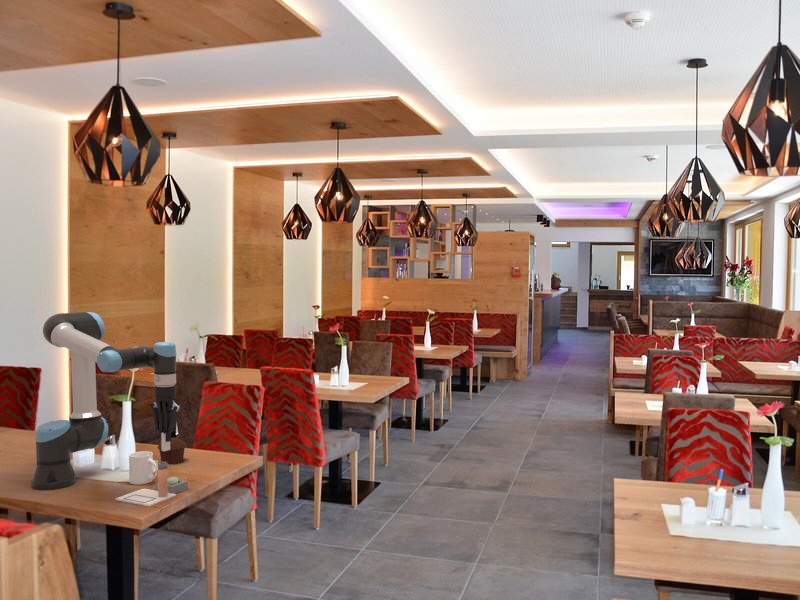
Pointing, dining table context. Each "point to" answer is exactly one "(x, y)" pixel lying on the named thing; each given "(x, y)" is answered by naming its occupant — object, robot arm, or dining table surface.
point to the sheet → (144, 497)
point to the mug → (141, 468)
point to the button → (172, 480)
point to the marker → (162, 479)
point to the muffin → (173, 451)
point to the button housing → (176, 487)
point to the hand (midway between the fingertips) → (165, 450)
